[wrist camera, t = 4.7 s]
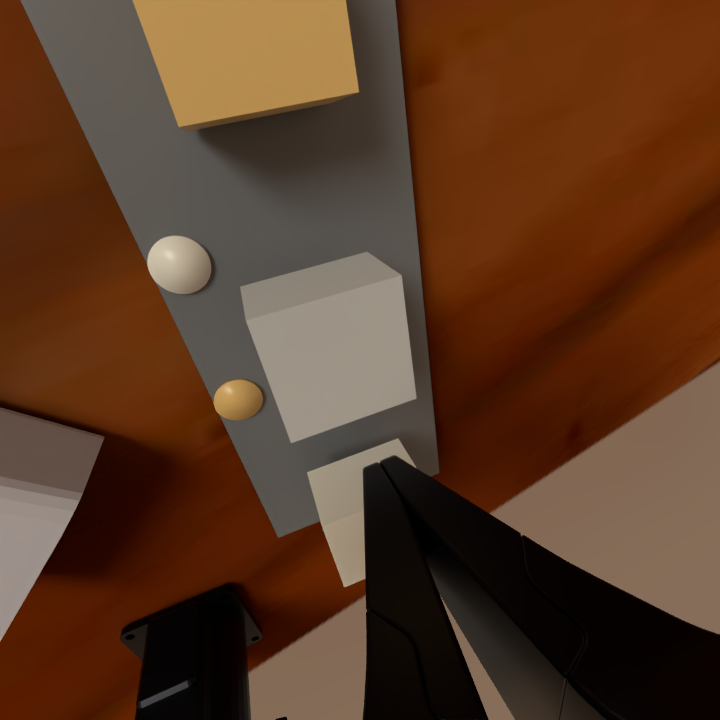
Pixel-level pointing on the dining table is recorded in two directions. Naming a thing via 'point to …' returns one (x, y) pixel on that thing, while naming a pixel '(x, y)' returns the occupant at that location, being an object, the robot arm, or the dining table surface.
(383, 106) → the keypad base
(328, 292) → the key grey
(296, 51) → the key amber
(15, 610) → the charger
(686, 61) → the dining table surface
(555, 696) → the robot arm
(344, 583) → the key cream
